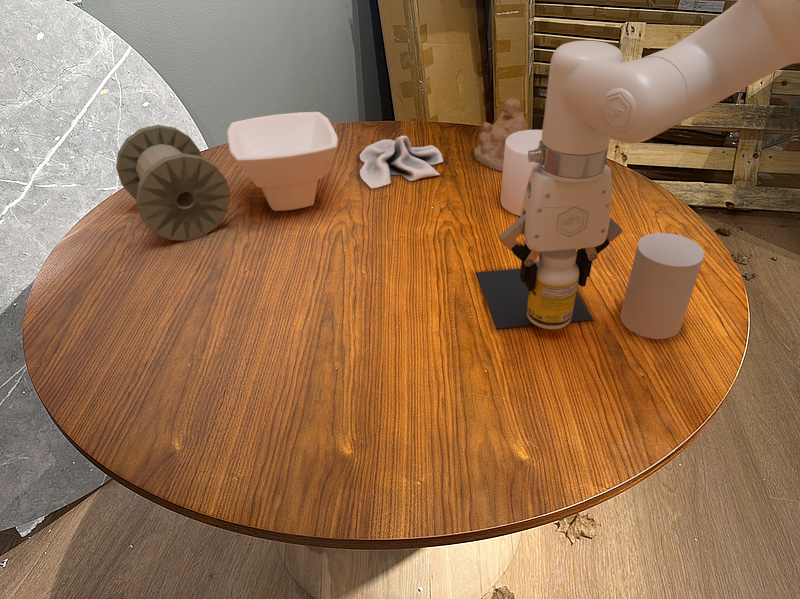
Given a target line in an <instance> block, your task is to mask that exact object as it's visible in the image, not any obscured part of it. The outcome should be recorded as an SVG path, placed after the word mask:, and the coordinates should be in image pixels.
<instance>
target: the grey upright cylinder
mask: <svg viewBox="0 0 800 599" xmlns="http://www.w3.org/2000/svg"><path fill="white" fill-rule="evenodd" d="M704 259H705V251H704V249H703V248H702V246H701V245H699V243H697V242H695V241H694V240H693V239H690V238H688V237H686V236H683V235H680V234H676V233H672V232H671V233H669V232H654V233H653V232H652V233H649V234H646V235H644V236H642V237H641V238H639V240H638V242H637V244H636V249H635V254H634V257H633V261H632V266H631V269H630V273H629V278H628V282H627V286H626V290H625V293H624V298H623V303H622V307H621V311H620V321H621V323H622V325H623V326H624V327H625V328H626V329H628V330H629V331H630V332H631V333H634V334H635V335H638V336H641V337H643V338H646V339H651V340H665V339H670V338H673V337H675V336H676V335H678V333H679V332H680V331H681V328H682V325H683V322H684V319H685V316H686V313H687V310H688V307H689V304H690V300H691V298H692V294H693V292H694V289H695V286H696V282H697V280H698V277H699V276H698V275H699V273H700V270H701V268H702V264H703V262H704Z"/></svg>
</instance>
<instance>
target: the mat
mask: <svg viewBox="0 0 800 599" xmlns="http://www.w3.org/2000/svg"><path fill="white" fill-rule="evenodd" d="M520 271H521V268H509V269H498V270H488V271H487V270H486V271H476V272H475V274H476V276H477V279H478V282H479V285H480V287H481V288H480V289H481V290H482V293H483V296H484V299H485V301H486V304H487V307H488V309H489V313H490V315H491V318H492V321H493V323H494V326H495V330H508V329H517V328H519V329H520V328H527V327H528V328H529V327H537V326H536V325H535V324H533V323H532V322H531V321H530V320H529V319H528V316H527V303H528V295H529V291H528V289H527V286H526V284H525V283H522V281H521V278H520ZM593 321H594V318H593V317H592V315H591V313H590V311H589V310H588V308H587V306H586V304H585V303H584V301H583V299H582V298H581V295H580V294H579V292H578V290H577V291H576V297H575V302H574V308H573V314H572V318H571V321H570V322H569V324H573V323H574V324H575V323H583V322H593Z"/></svg>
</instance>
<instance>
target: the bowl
mask: <svg viewBox="0 0 800 599" xmlns="http://www.w3.org/2000/svg"><path fill="white" fill-rule="evenodd" d="M226 134H227V135H226V136H227V143H228V148H229V153H230V156H231V157H232V159H234V160H235V162H236V163H237V164H238V165H239V167H240V168H241V169H242V170H243V172H244V173H245V174H246V175H247V176H248V178H250V180H251V181H252V183H254V185H255V186H256V187H257V188H261V191H262V193H263V195H264V198H265V199H266V201H267V203H268V206H269V207H270V208H271V210H272V211H274V212H284V211H292V210H298V209H304V208H307V207H311V206H314V205H315V201H316V200H315V199H316V193H317V189H318V182H319V180H322V179H323V178H324V177H325V175H326V173H327V170H328V169H329V166H330V165H331V162H332V160H333V158H334V155H335V154H336V151H337V149H338V143H339V137H338V134H337V133H336V130H335V128H334V126H333V125H332V123H331V121H330V119H329V118H328V117H327V116H325V115H324V114H323V113H322V112H320V111H300V112H289V113H278V114H271V115H264V116H263V115H262V116H258V117H250V118H246V119H242V120H238V121H237V120H236V121H232V122H231V123H230V125H229V127H228V129H227V131H226Z"/></svg>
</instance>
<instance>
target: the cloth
mask: <svg viewBox="0 0 800 599" xmlns="http://www.w3.org/2000/svg"><path fill="white" fill-rule="evenodd" d="M443 158H444V157H443V154H442V153H441V151H440V150H439V149H438V148H437V147H436V146H435V145H432V144H429V145H425V146H413V145H412V143H411V140H410V138H409V136H407V135H400V136H398V137H397V138H396V139H395V140H393V139H387V138H386V139H385V138H384V139H381V140H378V141H376V142H374V143H371V144H369V145H367V146H366V147H364V148H363V150H362V151H361V152H360V153H359V159H360V161H361V162H362V163H363V165H362V167H361V168H360V169H359V176H360V178H361V180H362V181H363V182H364V183H365V184H366V186H368V188H370V190H374V189H378V188H382V187H385V186H388V185H390V184H391V183H392V181H391V177H392V176H402V177H403V178H404V179H406V180H407V181H409V182H413V181H417V180H419V179H423V178H431V177H438V176H440V175H441V173H439V171H437V170H436V169H435V167H433V166H435V165H439V164H441V163H443V162H444V159H443Z"/></svg>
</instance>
